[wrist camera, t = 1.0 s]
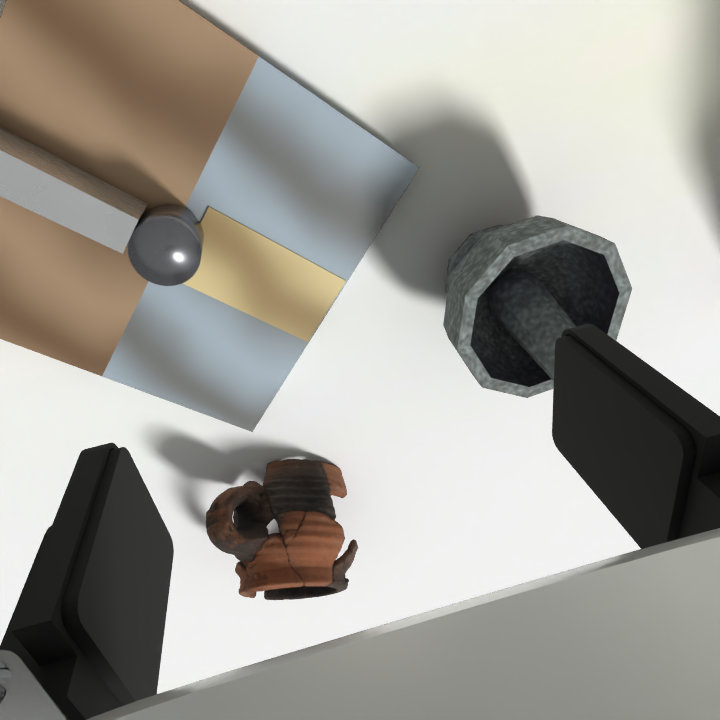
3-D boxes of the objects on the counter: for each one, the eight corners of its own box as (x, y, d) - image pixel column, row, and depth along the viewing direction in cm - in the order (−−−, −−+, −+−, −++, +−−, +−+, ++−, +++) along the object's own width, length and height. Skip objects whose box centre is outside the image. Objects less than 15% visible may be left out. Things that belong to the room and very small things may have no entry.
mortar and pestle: (390, 257, 32) (465, 350, 22) (524, 162, 31) (669, 213, 21) (472, 380, 38) (561, 500, 28) (587, 303, 37) (725, 398, 26)
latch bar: (214, 223, 28) (212, 240, 25) (187, 275, 29) (183, 297, 26) (-15, 102, 23) (-46, 107, 21) (-37, 168, 24) (-69, 181, 22)
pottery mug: (377, 470, 41) (388, 586, 37) (296, 500, 46) (298, 605, 42) (246, 433, 33) (241, 575, 29) (168, 475, 38) (153, 599, 34)
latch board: (46, -91, 22) (37, -99, 21) (412, 163, 30) (419, 167, 28) (-81, 295, 28) (-94, 305, 27) (251, 421, 36) (252, 432, 35)
